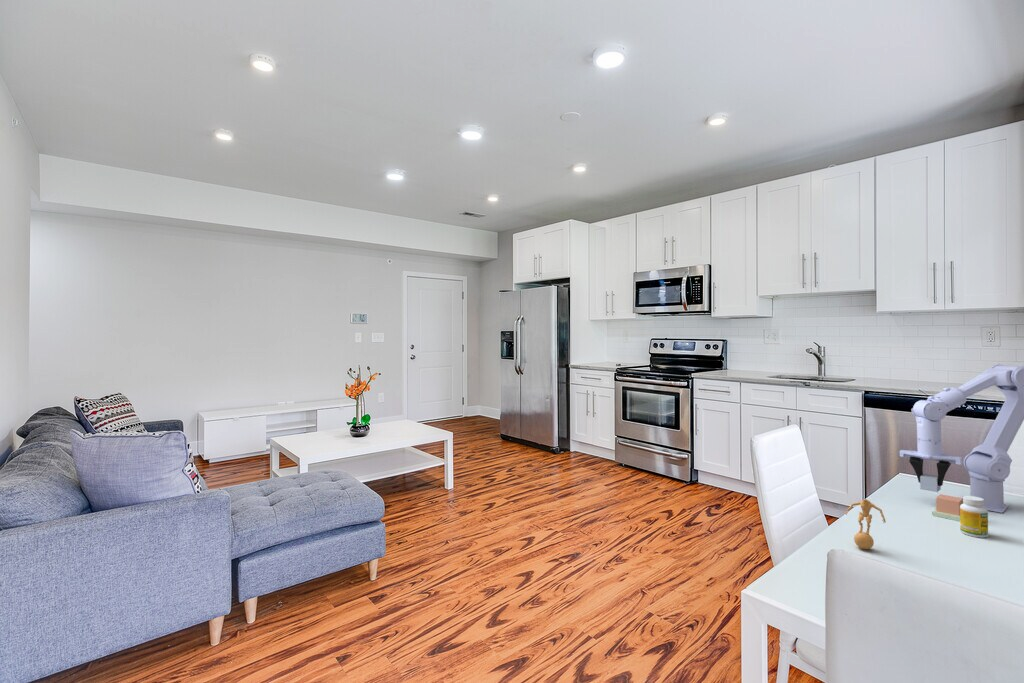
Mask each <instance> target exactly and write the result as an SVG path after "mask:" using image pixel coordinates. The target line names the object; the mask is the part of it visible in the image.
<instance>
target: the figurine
mask: <svg viewBox="0 0 1024 683" xmlns="http://www.w3.org/2000/svg"><path fill="white" fill-rule="evenodd" d="M853 506H860V508H861V511H860V512H859V513H858V514H859V515H858V519H857V520H858V523H859V525H860V528H859V531H858V532H857V533H856V534H855V535H854V537H853V540H854V543H855V545H856V546H857V547H858V548H860V549H862V550H869V549H871V548H873V546H874V544H875V541H874V538H873V536H871V535H870V528H871V523H872V518H873V515H872V514H870V512H871V511H872V510H871V509H873V508H874V509H875V510H877V511H879V514H880V516H881V518H882V520H881V521H883V522H882V524H883V523H884V524H886V518H885V515H884V513H883V510H882V509H881V508H880V507H878V506H877V505H875V504H874V503H872V502H871V501H870V500H868V499H866V498H863V499H862V501H857V502H852V503H851V504H850V506H849V507H847V510H846V511H845V515H847V514H848V513H849V511H850V510H851V509H852V508H853ZM864 519H865V521H866V523H867V524H866V527H867V528H866V532H864V531H863V529H864V526H863V525H864V524H863V522H862V521H864Z"/></svg>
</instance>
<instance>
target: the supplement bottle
mask: <svg viewBox="0 0 1024 683" xmlns="http://www.w3.org/2000/svg"><path fill="white" fill-rule="evenodd" d="M962 498H963V504H961V505H960V521H959V524H960V527H959V528H960V533H962V534H963V533H964V534H963V535H965V534H966V536H968V535H969V536H968V537H972V536H973V537H974V538H977V537H980V539H985V537H986V538H988V537H989V517H988V516H989V512H988V511H989V510H987V509H986V508H985V507H983V505H984V499H982V498H979V497H974V496H971V495H963V497H962Z"/></svg>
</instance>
